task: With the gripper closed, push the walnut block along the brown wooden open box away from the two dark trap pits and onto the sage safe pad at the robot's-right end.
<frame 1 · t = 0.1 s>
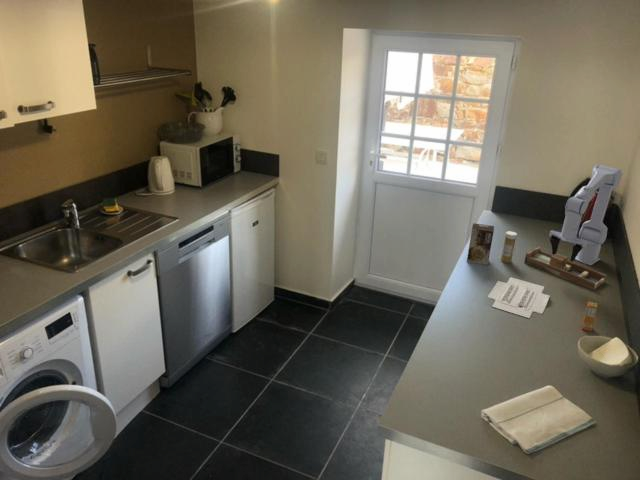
hand: (563, 257, 217), 10 cm above the worktop, fingers open, 7 cm apart
brown wooden open box: (563, 271, 227), on the worktop
coffee box: (477, 261, 234), on the worktop
sprinkles bottle: (505, 261, 235), on the worktop
walnut block: (557, 265, 228), point 2 cm above the worktop, touching brown wooden open box
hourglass: (586, 328, 188), on the worktop
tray: (518, 298, 207), on the worktop
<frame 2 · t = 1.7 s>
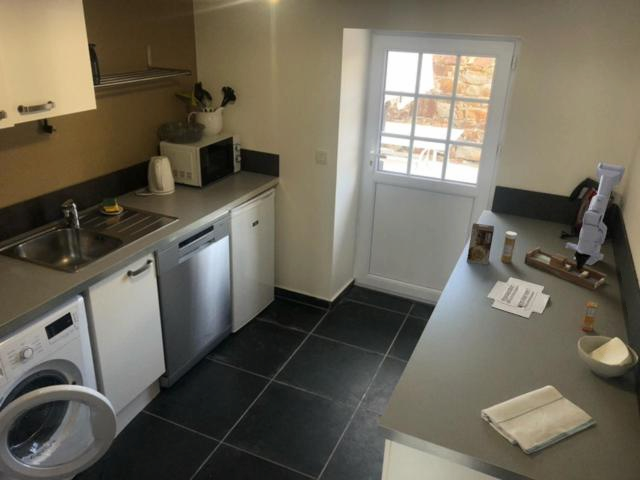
hand: (579, 269, 221), 4 cm above the worktop, fingers closed
nothing on the worktop moved.
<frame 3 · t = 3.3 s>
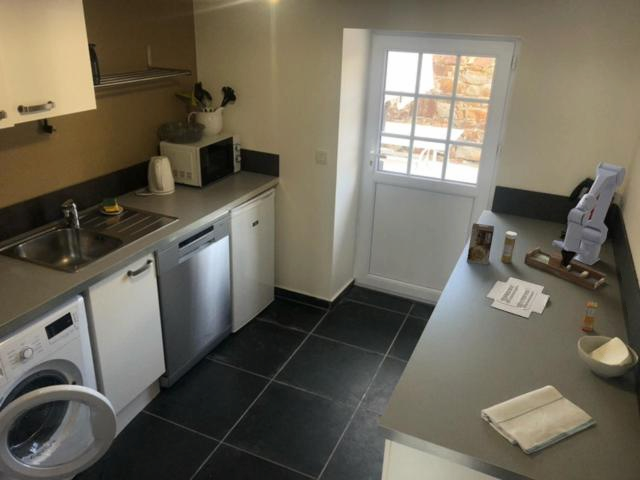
hand: (565, 266, 226), 3 cm above the worktop, fingers closed
walnut block: (556, 264, 229), point 2 cm above the worktop, touching gripper
everything else where it was.
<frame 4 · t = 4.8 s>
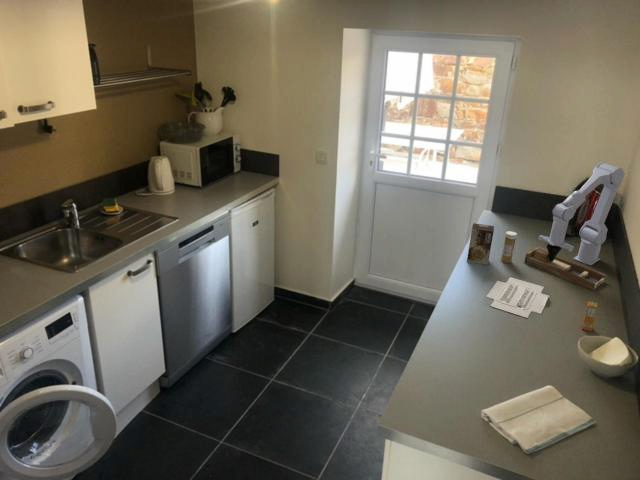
hand: (551, 260, 230), 3 cm above the worktop, fingers closed
walnut block: (542, 259, 233), point 2 cm above the worktop, touching gripper, brown wooden open box
everything else where it was.
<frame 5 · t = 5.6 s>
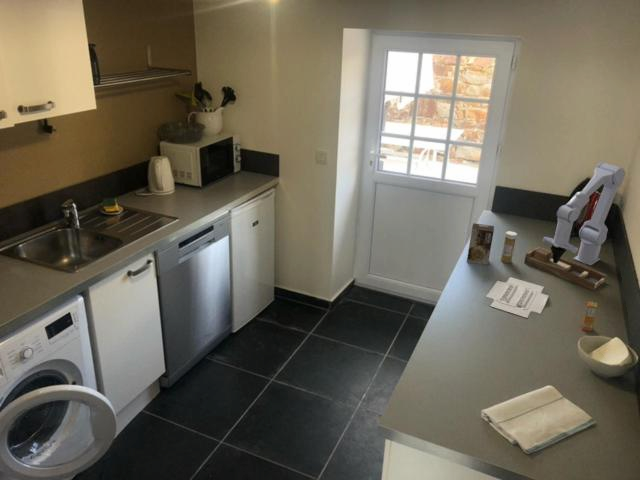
hand: (555, 262, 229), 3 cm above the worktop, fingers closed
walnut block: (541, 259, 233), point 2 cm above the worktop, touching brown wooden open box
everything else where it was.
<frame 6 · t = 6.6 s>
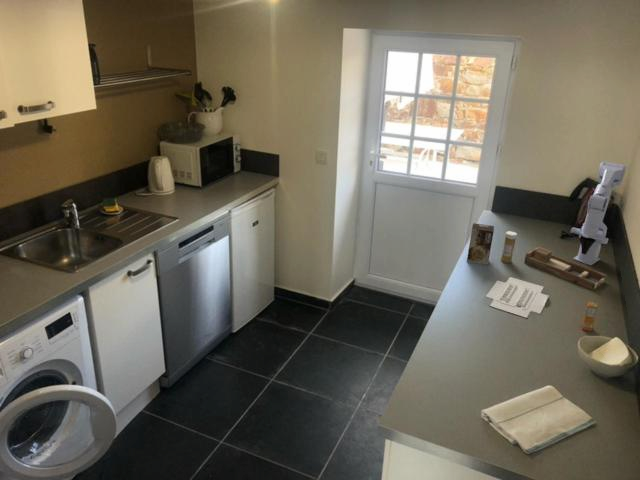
hand: (584, 253, 223), 9 cm above the worktop, fingers closed
nothing on the worktop moved.
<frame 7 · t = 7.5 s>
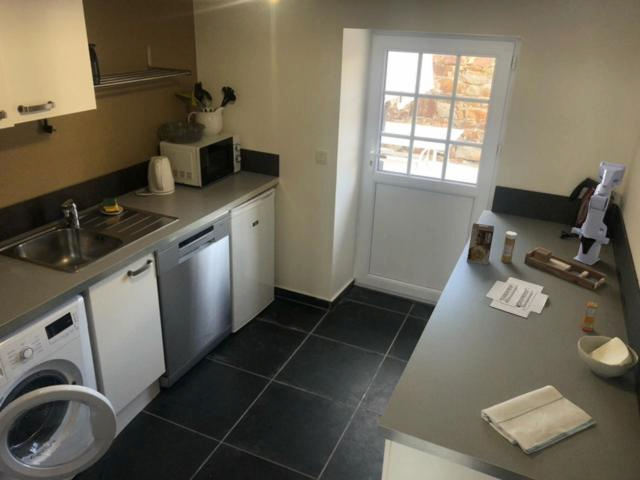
hand: (584, 253, 223), 9 cm above the worktop, fingers closed
nothing on the worktop moved.
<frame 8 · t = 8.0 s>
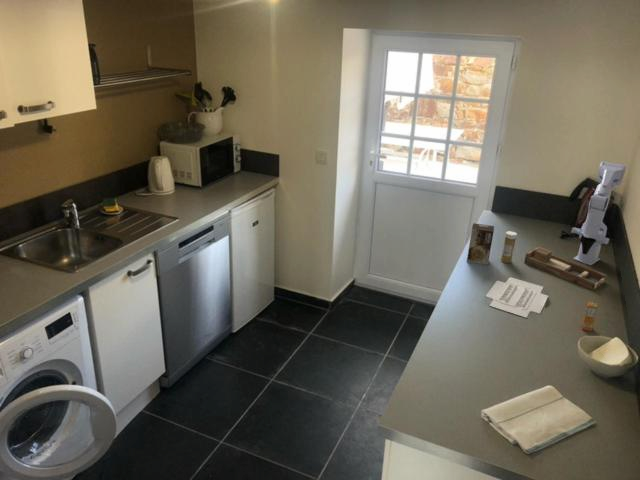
hand: (584, 253, 223), 9 cm above the worktop, fingers closed
nothing on the worktop moved.
at the end: walnut block inside the target area on the brown wooden open box (0.3 cm from its centre), point 2.0 cm above the brown wooden open box's base; walnut block tilted 0° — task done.
